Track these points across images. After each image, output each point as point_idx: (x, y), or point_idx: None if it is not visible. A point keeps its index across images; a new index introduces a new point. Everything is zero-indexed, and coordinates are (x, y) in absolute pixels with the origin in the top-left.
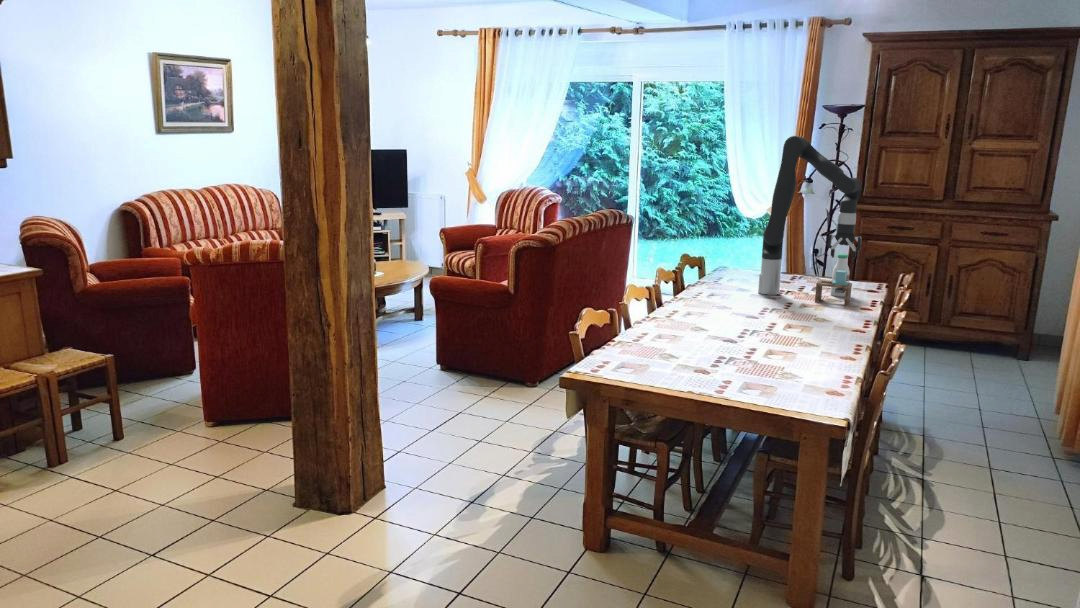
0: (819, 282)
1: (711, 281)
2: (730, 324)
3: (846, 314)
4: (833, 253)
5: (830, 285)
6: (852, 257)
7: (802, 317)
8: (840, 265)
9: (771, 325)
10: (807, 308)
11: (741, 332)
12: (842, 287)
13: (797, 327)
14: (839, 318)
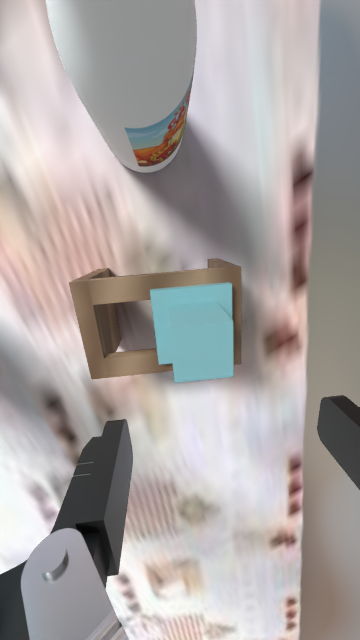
0: (96, 354)
1: None
2: None
3: (238, 433)
4: (124, 508)
5: (158, 370)
6: (338, 453)
7: (152, 513)
8: (119, 52)
9: (125, 587)
10: None
11: None
12: None
13: (173, 575)
14: (230, 477)
